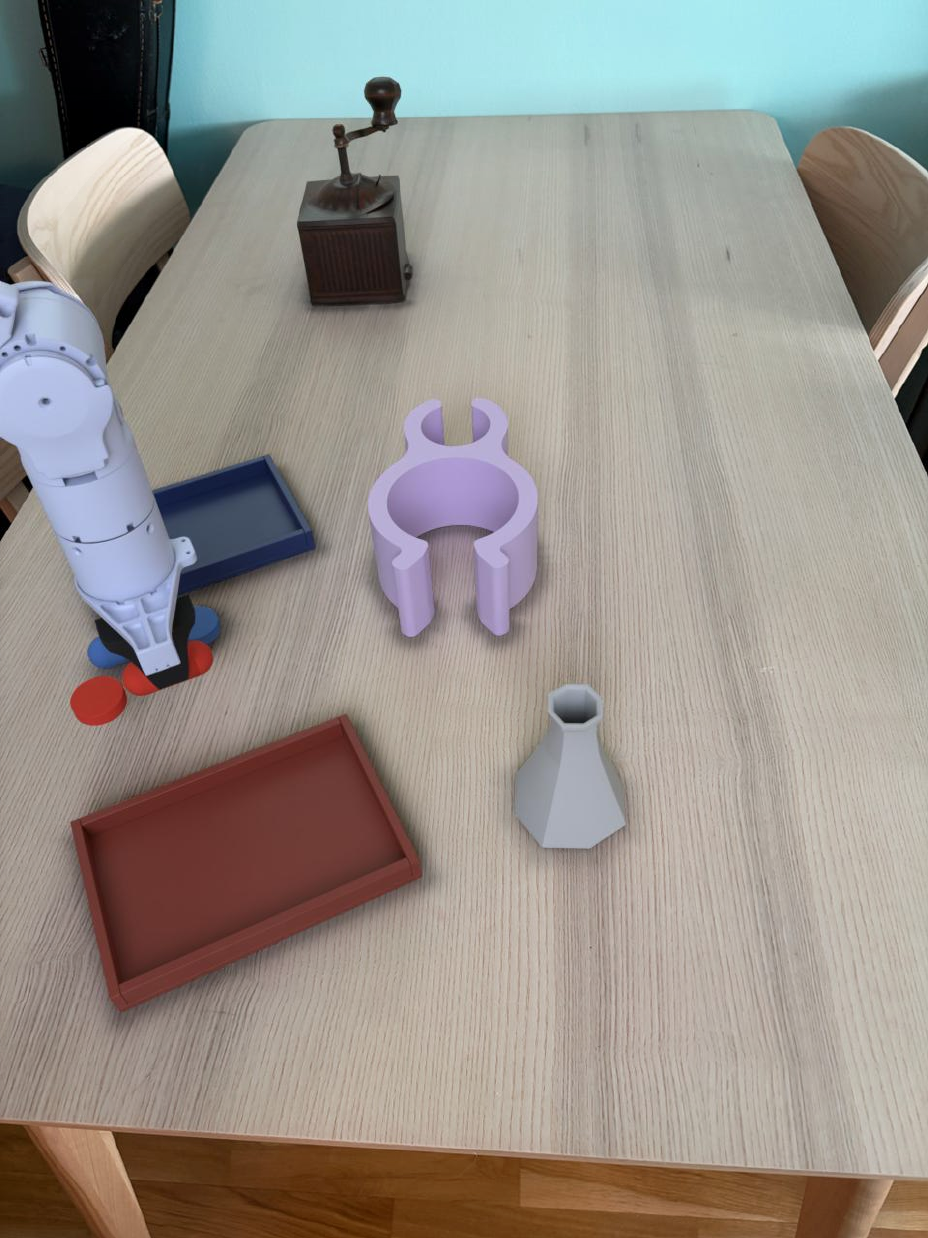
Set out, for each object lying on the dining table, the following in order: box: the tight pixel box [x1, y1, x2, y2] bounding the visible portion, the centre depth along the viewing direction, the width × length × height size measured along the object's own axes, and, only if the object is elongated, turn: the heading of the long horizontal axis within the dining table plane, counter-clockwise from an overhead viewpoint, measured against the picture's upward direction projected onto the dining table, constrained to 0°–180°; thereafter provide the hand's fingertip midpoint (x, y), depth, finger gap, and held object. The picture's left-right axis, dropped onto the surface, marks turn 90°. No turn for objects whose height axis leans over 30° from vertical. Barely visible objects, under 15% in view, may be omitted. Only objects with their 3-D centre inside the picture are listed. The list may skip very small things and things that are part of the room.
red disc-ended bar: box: [69, 641, 214, 727], centre depth 64 cm, size 10×3×2 cm, turn 115°
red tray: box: [70, 713, 423, 1013], centre depth 59 cm, size 18×12×2 cm
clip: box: [367, 397, 539, 638], centre depth 76 cm, size 20×12×7 cm, turn 179°
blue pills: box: [86, 605, 222, 669], centre depth 71 cm, size 10×3×2 cm, turn 116°
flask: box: [513, 683, 627, 850], centre depth 58 cm, size 7×7×10 cm
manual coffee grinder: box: [296, 76, 414, 307], centre depth 103 cm, size 16×11×18 cm
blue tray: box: [100, 453, 317, 618], centre depth 79 cm, size 17×11×2 cm, turn 115°
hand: (167, 666), depth 64 cm, fingers closed on red disc-ended bar, 2 cm apart
